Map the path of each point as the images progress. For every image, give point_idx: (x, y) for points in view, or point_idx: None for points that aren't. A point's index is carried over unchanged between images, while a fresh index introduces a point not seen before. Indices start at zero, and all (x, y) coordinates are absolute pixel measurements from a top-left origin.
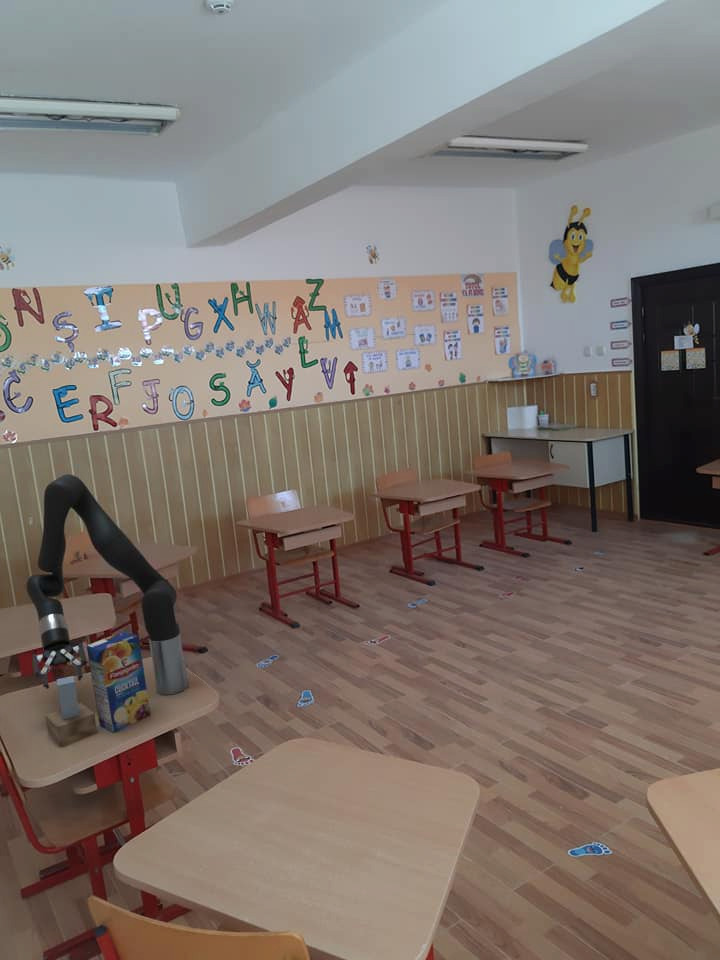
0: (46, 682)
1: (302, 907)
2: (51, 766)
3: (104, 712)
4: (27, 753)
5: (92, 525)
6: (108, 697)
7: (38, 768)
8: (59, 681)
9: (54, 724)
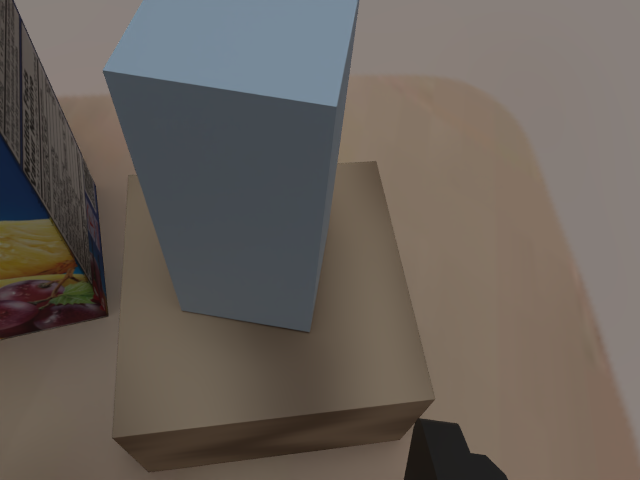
0: (451, 444)
1: None
2: (419, 113)
3: (67, 173)
4: (521, 292)
5: None
6: (12, 3)
7: (470, 132)
8: (317, 38)
9: (387, 207)
